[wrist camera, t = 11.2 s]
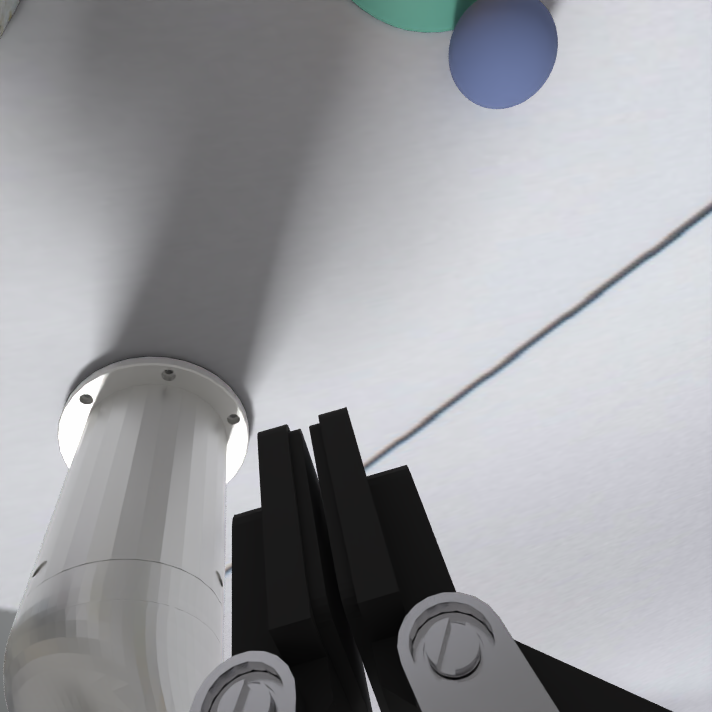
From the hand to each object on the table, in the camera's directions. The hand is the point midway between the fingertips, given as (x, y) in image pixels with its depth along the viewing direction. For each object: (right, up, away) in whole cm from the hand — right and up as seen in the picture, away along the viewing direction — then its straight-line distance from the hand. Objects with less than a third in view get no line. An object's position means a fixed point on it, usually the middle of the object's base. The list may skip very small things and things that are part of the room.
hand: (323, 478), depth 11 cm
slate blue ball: (+8, +18, +20) cm, 28 cm away
